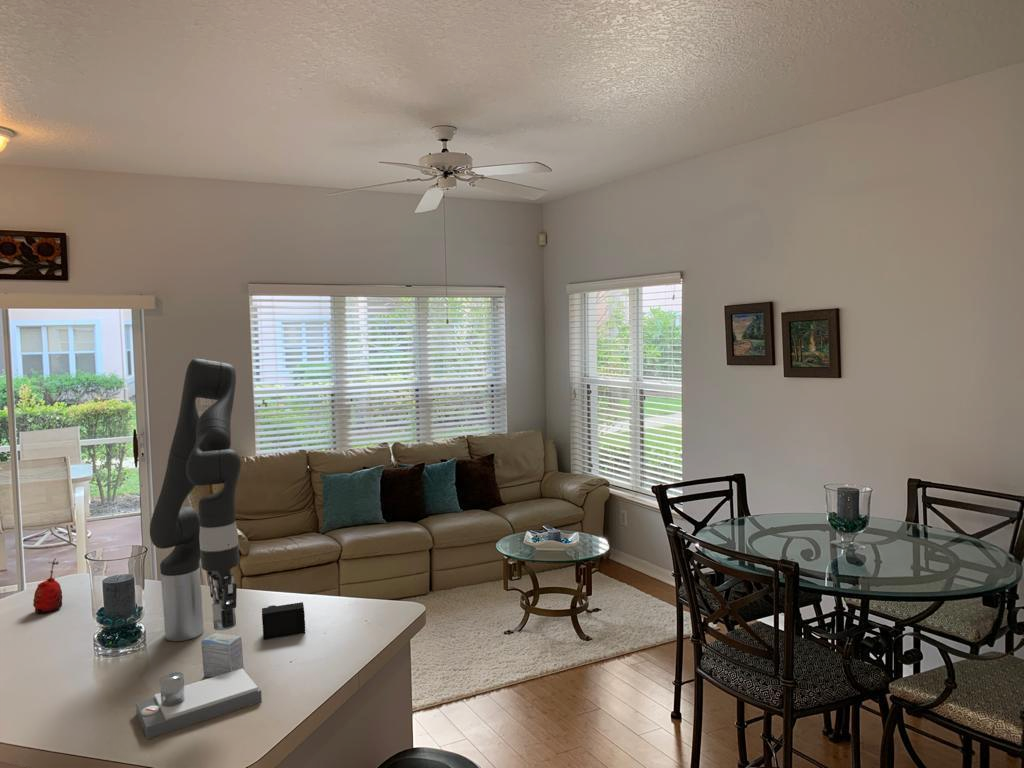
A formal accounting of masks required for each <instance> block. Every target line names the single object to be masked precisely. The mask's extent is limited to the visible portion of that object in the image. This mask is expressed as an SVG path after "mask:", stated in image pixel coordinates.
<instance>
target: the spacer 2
mask: <svg viewBox="0 0 1024 768" xmlns="http://www.w3.org/2000/svg"><path fill="white" fill-rule="evenodd" d="M229 603H230V601H227V604H229ZM211 606H212V607H211V608H212V620H213V621H212V622H213V629H214V630H215V631H226V630H229V629H232V628H234V627H236V626H237V621H236V620H237V619H236V608H233V620H234V625H233V626H231V627H227V628H223V626H222V619H221V610H220V601H216V602H212V604H211Z"/></svg>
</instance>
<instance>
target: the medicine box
mask: <svg viewBox="0 0 1024 768" xmlns="http://www.w3.org/2000/svg"><path fill="white" fill-rule="evenodd" d="M242 642H243V641H242V636H240V635H233V634H225V633H216V632H215V633H212V634H210V635H208V636H207V637H205V638H204V639H202V640H201V644H200V645H201V655H202V669H203V670H202V671H203V676H204V677H209V678H212V677H215V676H219V675H222V674H225V673H229V672H232V671H235V670H239V669H242V668H243V669H244V670H245V666H244V655H243V643H242Z"/></svg>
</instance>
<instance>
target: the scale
mask: <svg viewBox="0 0 1024 768" xmlns="http://www.w3.org/2000/svg"><path fill="white" fill-rule="evenodd" d="M184 690H185V700H184V701H183V702H182V703H180V704H177V705H174V706H163V705H162V704H161V692H159V693H155V694H154V696H153V697H150V698H146V699H143V700H140V701H136V702H135V708H136V710H135V711H136V716H137V718H138V720H139V722H140V724H141V727H142V730H143V731H144V734H145V736H146V739H147V740H150V739H152V738H155V737H156V738H157V737H158V736H161V735H164V734H168V733H170V732H174V731H176V730H179V729H182V728H186V727H188V726H191V725H195V724H198V723H200V722H203V721H206V720H210V719H212V718H213V719H214V718H216V717H218V716H221V715H225V714H228V713H230V712H231V713H232V712H234V711H237V710H239V709H242V708H246V707H249V706H252V705H255V704H258V703H262V702H263V699H262V698H263V697H262V690H261V689H260V687H259V686H258V685H257V684H256V682H255V681H254V680H253V679H252V677H251V676H250V675H249V674H248V672H247V671H246V670H245V668H244V669H243V668H242V669H239V670H235V671H232V672H229V673H225V674H222V675H219V676H215V677H209V678H205V679H202V680H199V681H196V682H192V683H189V684H186V685H185V684H184Z"/></svg>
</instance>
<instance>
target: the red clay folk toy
mask: <svg viewBox="0 0 1024 768" xmlns="http://www.w3.org/2000/svg"><path fill="white" fill-rule="evenodd" d="M56 560H57V558H54V559H53V561H52V562H50V561H48V563H49V564H52V566H51V570H50V571H49V572H50V576H49V578H47V579H46V580H44V581H42V582H40V583H38V584H37V587H36V589H35V591H34V595H33V605H32V606H33V607H34V611H35V614H39V615H40V614H41V613H42V614H44V613H45V614H47V613H51V612H55V611H56V610H57V611H58V610H59V609H61V608H62V606H63V591H62V590H63V589H62V588H61V585H60V583H59V582H58V581H57V580H56V579H55V577H53V573H54V571H53V569H54V565H59V561H58V560H57V561H56ZM55 561H56V562H55Z"/></svg>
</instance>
